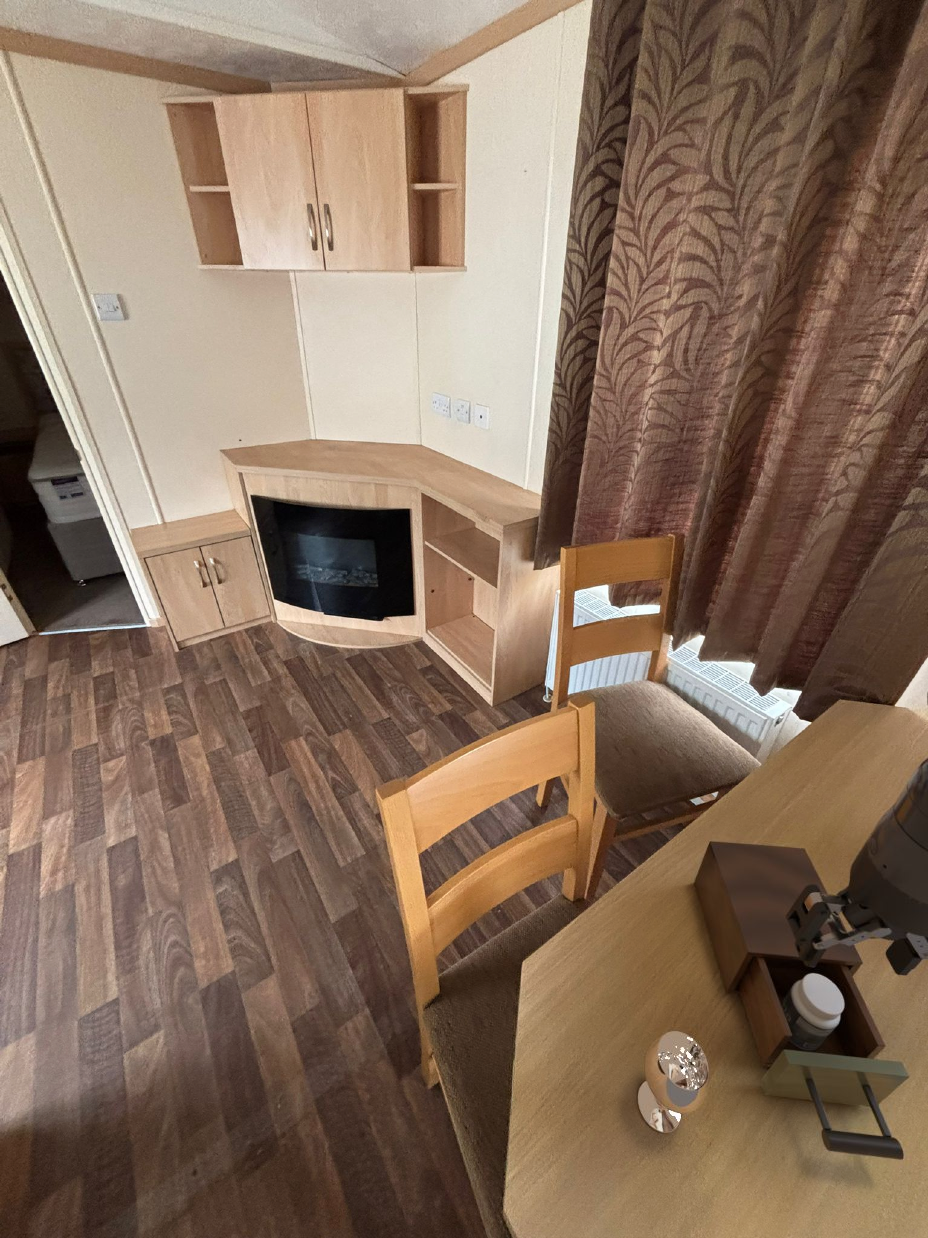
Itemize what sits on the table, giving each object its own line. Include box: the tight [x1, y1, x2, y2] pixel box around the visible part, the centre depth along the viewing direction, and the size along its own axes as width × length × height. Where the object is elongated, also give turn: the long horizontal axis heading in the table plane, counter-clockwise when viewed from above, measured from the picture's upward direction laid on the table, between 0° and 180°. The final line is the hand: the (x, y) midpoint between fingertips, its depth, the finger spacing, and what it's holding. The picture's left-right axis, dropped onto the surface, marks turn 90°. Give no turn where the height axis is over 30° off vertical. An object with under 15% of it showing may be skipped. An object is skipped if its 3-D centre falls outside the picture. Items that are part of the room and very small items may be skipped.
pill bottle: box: [781, 973, 844, 1050], centre depth 59 cm, size 5×5×8 cm
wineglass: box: [637, 1030, 710, 1134], centre depth 54 cm, size 6×6×12 cm
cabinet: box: [693, 840, 864, 996], centre depth 69 cm, size 15×13×10 cm
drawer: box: [738, 956, 910, 1161], centre depth 58 cm, size 19×11×8 cm, turn 175°
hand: (849, 961), depth 53 cm, fingers open, 8 cm apart
